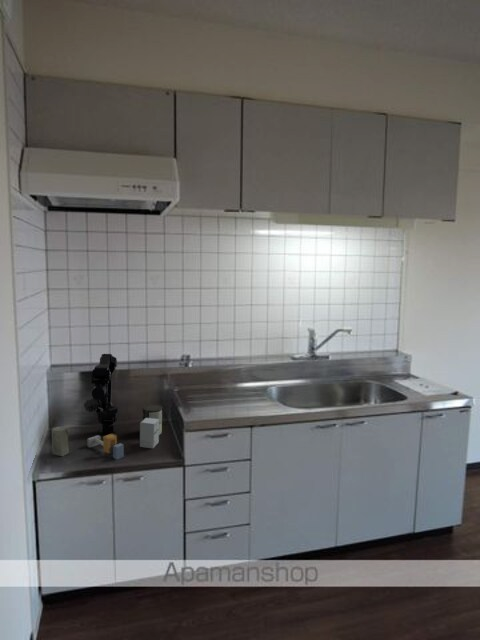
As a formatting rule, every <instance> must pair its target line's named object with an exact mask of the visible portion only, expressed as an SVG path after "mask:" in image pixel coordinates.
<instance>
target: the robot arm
mask: <svg viewBox="0 0 480 640" xmlns="http://www.w3.org/2000/svg"><path fill="white" fill-rule="evenodd" d="M117 366H118V360H117V357H115V356H113V354H111V353H102V354H101V356H100V358H99V364H97V365H95V366H94V368H93V369H92V375H91V384H94V386H93V389H92V391H91V396H92V398H91V399H88V400H86V402H85V403H83V407H84V409H85V411H86V412H89V413H92V412H95V414H96V416H97V419H98V423H99V424H100V426H101V430H98V433H100V434H102V435H104V436H106V435H109V434H115V433H116V432H117V430H115V427H114V425H115V424H114V423H115V422H118V416H117V414H119V408H118V407H117V406H114V405H113V403H112V400H113V399H112V397H113V396H112V395H113V393H112V392H113V375H114V373H115V371H116V370H117Z"/></svg>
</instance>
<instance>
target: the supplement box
mask: <svg viewBox="0 0 480 640" xmlns="http://www.w3.org/2000/svg"><path fill="white" fill-rule="evenodd" d="M159 441H160V435H159V419H153V418H145V419H144V420H143V419H142V420H141V422H140V423H139V447H141V448H145V449H146V448H148V449H155V447H156V446H157V445H158V444H159Z"/></svg>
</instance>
